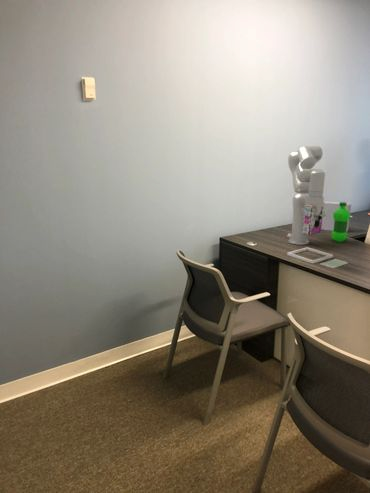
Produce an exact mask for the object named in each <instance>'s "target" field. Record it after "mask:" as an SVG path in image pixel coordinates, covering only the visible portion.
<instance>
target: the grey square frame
mask: <svg viewBox="0 0 370 493" xmlns="http://www.w3.org/2000/svg"><path fill="white" fill-rule="evenodd" d="M306 251H309V252H312V253H315V254H318V255H322V257H319V258H316V259H315V258H314V259H309V258H307V257H303V256H300V255H298V253H302V252H306ZM286 255H287V256H289V257H291V258H295V259H298V260H301V261H303V262H307V263H310V264H317V263H319V262H323V261H327V260H329V259H332V258H334V254H332V253H328V252H325V251H323V250H319V249H315V248H311V247H309V246H306V247H303V248H300V249H299V248H298V249H295V250H292V251H288V252H287V253H286Z"/></svg>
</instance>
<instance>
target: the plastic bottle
mask: <svg viewBox="0 0 370 493" xmlns="http://www.w3.org/2000/svg"><path fill="white" fill-rule="evenodd" d="M347 203H348V202H345V201H341V202H340V204H339V206H340V208H339V209H337V210H336V211H335V212H334V213H333V219H334V220H335V222H334V230H333V231H331V238H332V239H333V240H334V241H335V242H339V243H342V242H344V241H345V240H346V239H348V231H347V232H346V230H347V222H348V220H349V221H350V219H351V212H350V213H349V211H348V210H347V209H345V206H346V205H347Z"/></svg>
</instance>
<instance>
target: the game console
mask: <svg viewBox="0 0 370 493" xmlns="http://www.w3.org/2000/svg"><path fill="white" fill-rule="evenodd" d="M346 203H347V205H346V206H345V209H347V210H348V211H349V213H350V214H351V210H352V203H351V202H346ZM339 204H340V202H338V201H327V200H324V213H325V215H326V216H325V217H323V218H322V226H321V230H325V231H331V232H332V231H333V230H334V222H335V220H334V219H333V213H334V212H335V211H336V210H337V209H339V208H340V206H339ZM349 224H350V219H349V220H348V222H347V230H346V232H347V233H348V231H349V226H350V225H349Z"/></svg>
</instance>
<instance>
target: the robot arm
mask: <svg viewBox="0 0 370 493" xmlns="http://www.w3.org/2000/svg"><path fill="white" fill-rule="evenodd" d="M322 157H323V149H322V147H320V146H318V145H307V146H306V145H303V146H301V147H299V148H298V150H297V151H293V152H290V153H289V155H288V157H287V160H288V161H287V162H288V167H289V170H290V172H291V175H292V183H293V190H294V193H296V194H295V195H293V196H292V224H291V226H292V227H291V233H290V232H289V233H287V235H286V237H288V238H289V239H288V243H290V244H291V245H292V244H293V245H298V246H300V245H301V246H305V245H308V244H310V243H309V242H310V241H309V239H307V237H308V235H305V234H302V230H303V221H304V212H305V205H312V206H315V213H314V215H316V220H315V227H319V224H320V220H321V219H322V218H323V217H325V216H326V215H325V213H324V201H325V199H324V188H325V180H326V179H325V178H326V173H325V171H324V170H323V169H320V168H314V167H315V165H316V164H317V163H318V162H320V160H321V159H322ZM320 214H322V215H320Z"/></svg>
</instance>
